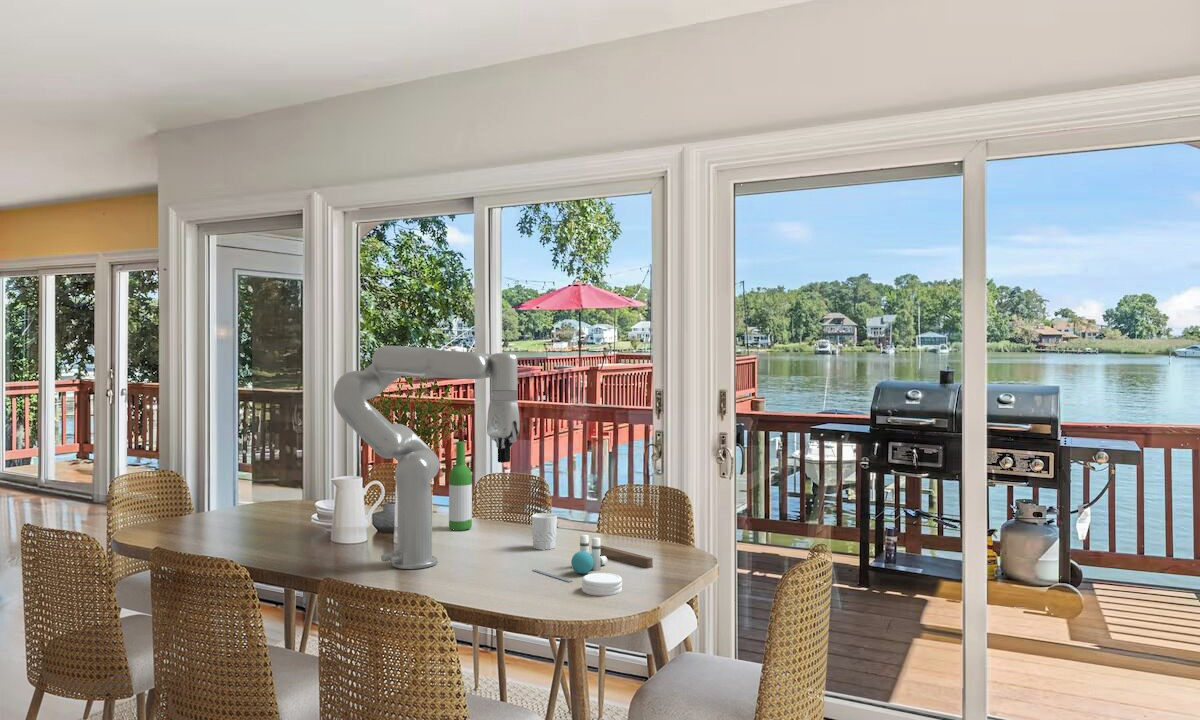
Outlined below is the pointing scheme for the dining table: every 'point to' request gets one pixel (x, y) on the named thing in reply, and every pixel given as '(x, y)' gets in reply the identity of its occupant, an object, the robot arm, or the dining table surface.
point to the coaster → (602, 584)
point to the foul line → (552, 575)
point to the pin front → (603, 560)
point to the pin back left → (584, 543)
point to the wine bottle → (460, 492)
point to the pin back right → (596, 553)
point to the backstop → (626, 557)
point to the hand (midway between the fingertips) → (504, 461)
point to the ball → (582, 562)
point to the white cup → (544, 530)
